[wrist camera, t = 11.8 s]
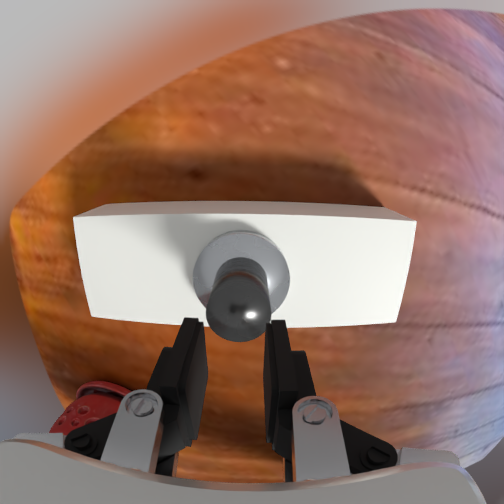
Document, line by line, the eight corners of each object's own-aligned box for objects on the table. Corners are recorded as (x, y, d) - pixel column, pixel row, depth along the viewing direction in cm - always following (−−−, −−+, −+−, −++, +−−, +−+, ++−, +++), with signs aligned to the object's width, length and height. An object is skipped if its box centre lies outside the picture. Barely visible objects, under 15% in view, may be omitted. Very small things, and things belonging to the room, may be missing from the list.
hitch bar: (372, 292, 25) (395, 321, 20) (117, 288, 25) (91, 316, 20) (384, 207, 22) (416, 221, 17) (106, 203, 22) (73, 217, 17)
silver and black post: (278, 285, 24) (294, 361, 15) (208, 284, 24) (184, 359, 15) (282, 215, 22) (305, 258, 13) (205, 214, 22) (172, 256, 13)
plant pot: (104, 428, 33) (79, 486, 21) (65, 366, 29) (22, 429, 17) (181, 438, 32) (167, 508, 21) (150, 373, 28) (117, 458, 17)
